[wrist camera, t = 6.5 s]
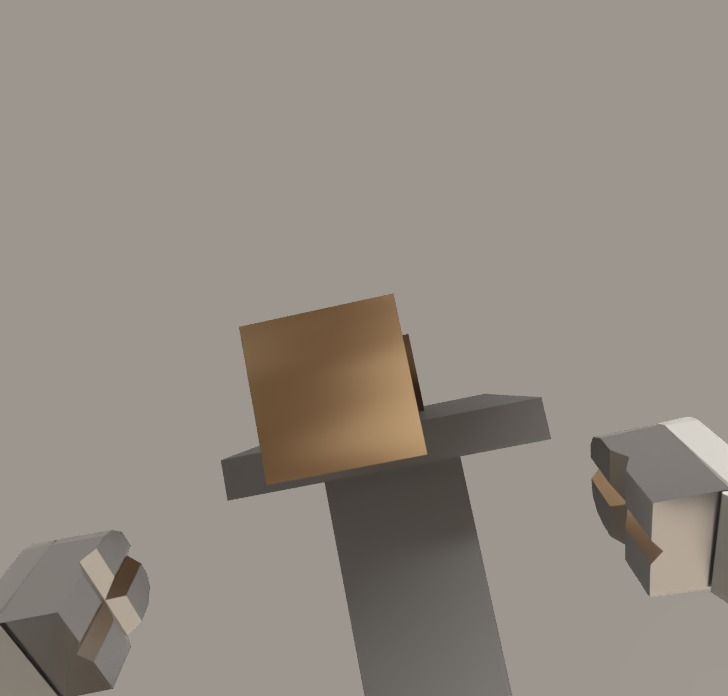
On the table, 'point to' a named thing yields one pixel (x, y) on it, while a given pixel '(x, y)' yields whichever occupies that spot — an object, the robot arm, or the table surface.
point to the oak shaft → (333, 390)
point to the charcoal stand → (417, 550)
